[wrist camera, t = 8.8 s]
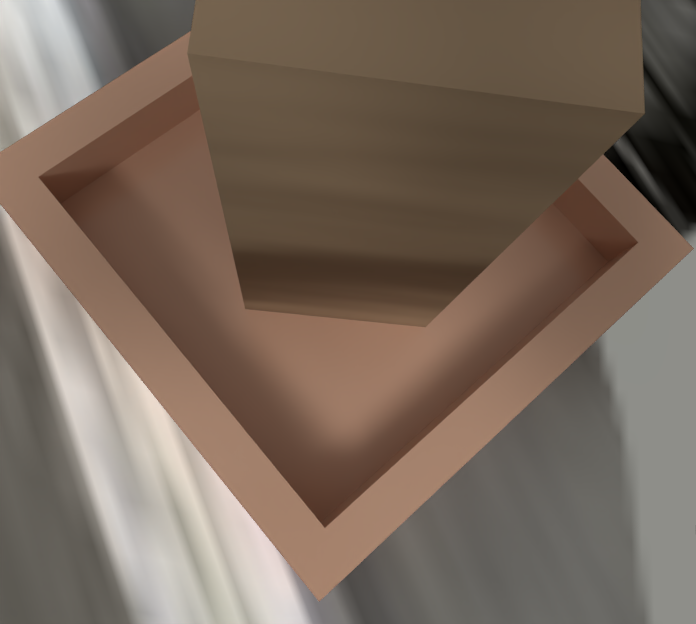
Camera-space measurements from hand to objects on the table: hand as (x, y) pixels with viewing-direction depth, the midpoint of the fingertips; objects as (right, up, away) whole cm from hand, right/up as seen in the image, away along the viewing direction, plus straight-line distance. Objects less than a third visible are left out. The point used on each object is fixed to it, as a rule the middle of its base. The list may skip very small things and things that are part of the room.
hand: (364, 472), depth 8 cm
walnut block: (0, +4, +9) cm, 9 cm away
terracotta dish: (0, +4, +9) cm, 10 cm away
